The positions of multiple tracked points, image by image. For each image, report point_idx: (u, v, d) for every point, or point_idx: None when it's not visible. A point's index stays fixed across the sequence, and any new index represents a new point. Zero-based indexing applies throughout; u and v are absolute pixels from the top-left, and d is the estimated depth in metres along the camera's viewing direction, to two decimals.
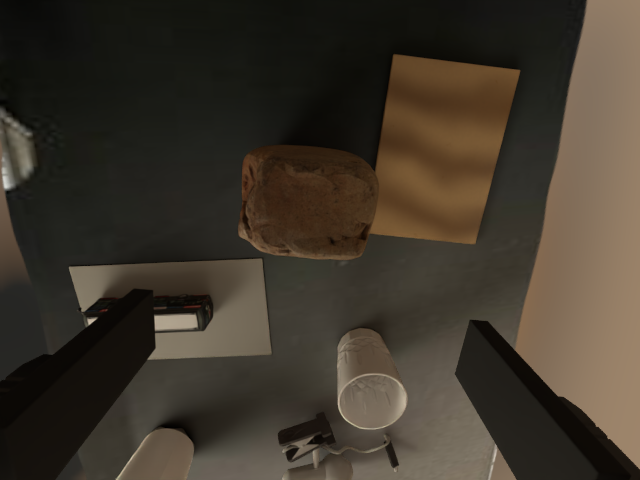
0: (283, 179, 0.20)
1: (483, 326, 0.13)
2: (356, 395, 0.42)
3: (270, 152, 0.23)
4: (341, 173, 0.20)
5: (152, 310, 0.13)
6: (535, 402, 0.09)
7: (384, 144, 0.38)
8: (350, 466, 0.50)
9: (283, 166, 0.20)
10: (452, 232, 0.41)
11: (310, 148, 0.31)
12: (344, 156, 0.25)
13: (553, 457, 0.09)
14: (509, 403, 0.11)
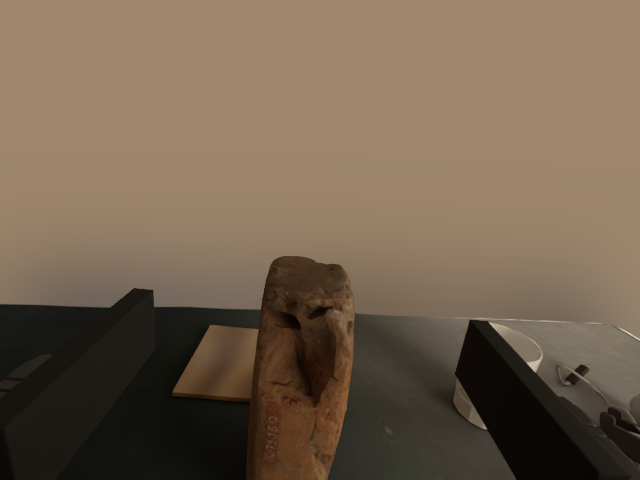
0: (282, 280, 0.23)
1: (483, 326, 0.13)
2: None
3: (258, 334, 0.23)
4: (278, 263, 0.27)
5: (152, 310, 0.13)
6: (535, 402, 0.09)
7: None
8: (630, 401, 0.42)
9: (272, 279, 0.23)
10: None
11: None
12: None
13: (553, 457, 0.09)
14: (509, 403, 0.11)
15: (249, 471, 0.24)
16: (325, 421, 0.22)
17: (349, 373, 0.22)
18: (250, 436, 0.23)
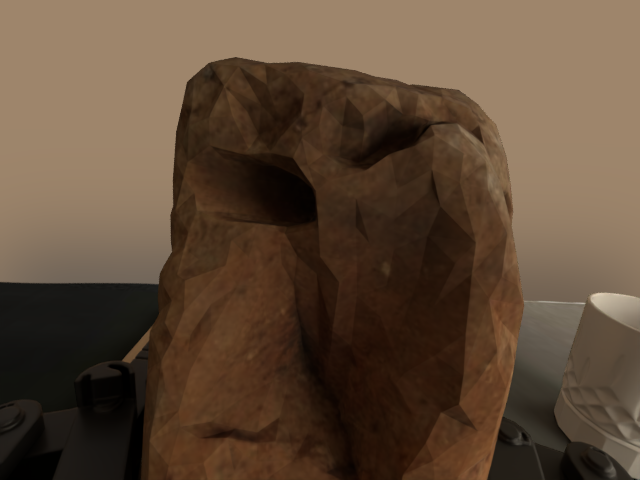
0: None
1: None
2: None
3: None
4: None
5: None
6: None
7: None
8: None
9: None
10: None
11: None
12: None
13: None
14: None
15: None
16: None
17: None
18: None
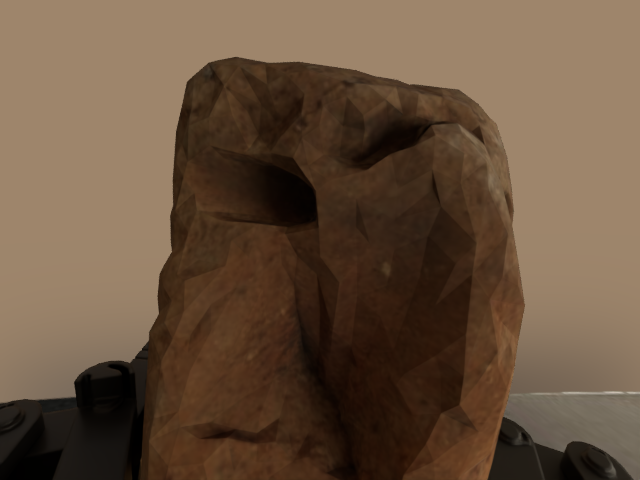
0: None
1: None
2: None
3: None
4: None
5: None
6: None
7: None
8: None
9: None
10: None
11: None
12: None
13: None
14: None
15: None
16: None
17: None
18: None
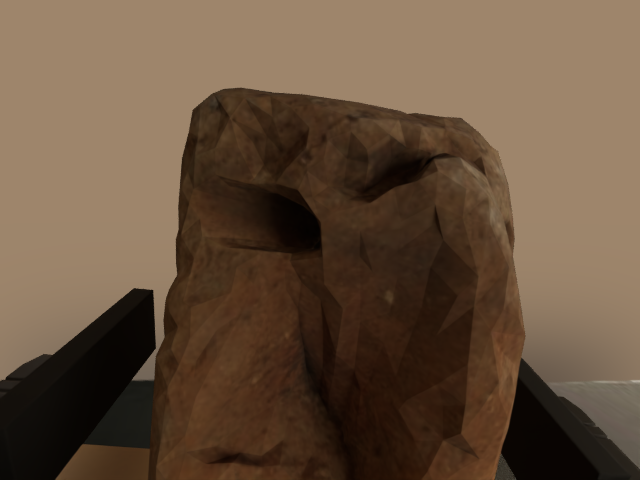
0: None
1: None
2: None
3: (173, 283, 0.07)
4: None
5: (152, 311, 0.13)
6: (535, 402, 0.09)
7: None
8: None
9: None
10: None
11: None
12: None
13: (553, 457, 0.09)
14: None
15: None
16: None
17: None
18: None
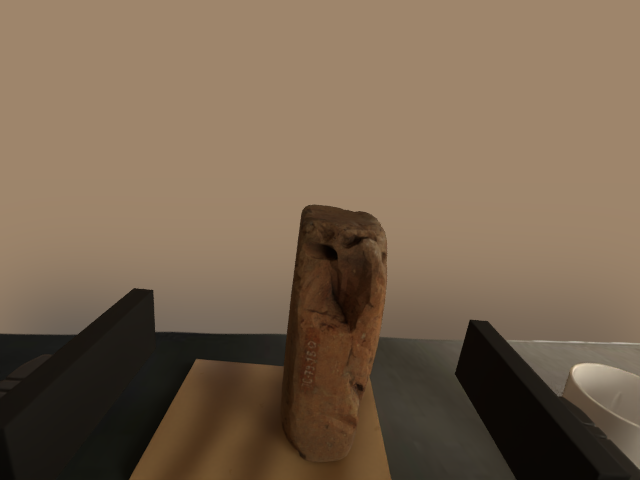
0: (318, 216, 0.25)
1: (483, 326, 0.13)
2: None
3: (295, 268, 0.24)
4: (309, 208, 0.28)
5: (152, 311, 0.13)
6: (535, 402, 0.09)
7: None
8: None
9: (308, 216, 0.25)
10: None
11: None
12: None
13: (553, 457, 0.09)
14: (509, 403, 0.11)
15: (286, 400, 0.25)
16: (361, 348, 0.24)
17: (383, 301, 0.23)
18: (288, 364, 0.24)
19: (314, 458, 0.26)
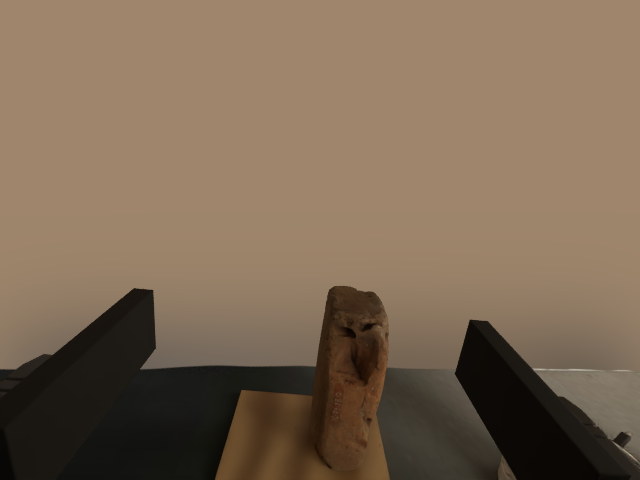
0: (342, 305, 0.36)
1: (483, 326, 0.13)
2: None
3: (327, 341, 0.36)
4: (333, 292, 0.40)
5: (152, 310, 0.13)
6: (535, 402, 0.09)
7: None
8: None
9: (335, 305, 0.36)
10: None
11: (316, 386, 0.41)
12: (322, 328, 0.42)
13: (553, 457, 0.09)
14: (509, 403, 0.11)
15: (319, 429, 0.37)
16: (370, 396, 0.35)
17: (386, 365, 0.35)
18: (321, 406, 0.36)
19: (337, 468, 0.38)
